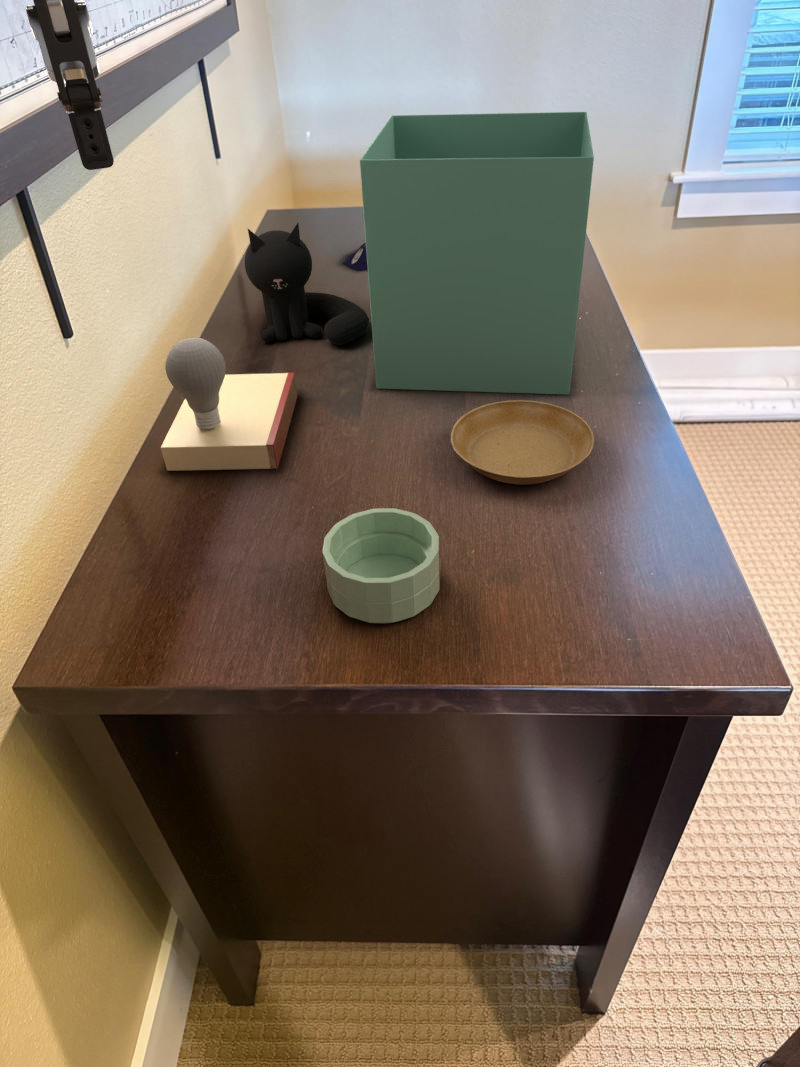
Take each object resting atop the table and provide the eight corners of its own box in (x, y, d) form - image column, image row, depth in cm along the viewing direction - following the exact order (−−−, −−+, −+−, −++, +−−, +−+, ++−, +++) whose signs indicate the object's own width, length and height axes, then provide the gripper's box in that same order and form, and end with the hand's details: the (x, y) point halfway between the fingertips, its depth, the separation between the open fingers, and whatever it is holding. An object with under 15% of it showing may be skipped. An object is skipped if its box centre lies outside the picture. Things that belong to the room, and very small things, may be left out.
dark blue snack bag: (332, 259, 131) (330, 235, 128) (402, 238, 137) (402, 215, 135) (363, 274, 125) (361, 249, 122) (435, 251, 131) (435, 227, 129)
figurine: (252, 358, 103) (231, 244, 94) (258, 315, 114) (240, 209, 104) (372, 348, 103) (363, 234, 94) (367, 307, 114) (358, 201, 105)
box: (566, 321, 107) (586, 111, 91) (569, 394, 92) (593, 157, 75) (401, 318, 111) (391, 115, 94) (376, 388, 95) (359, 159, 78)
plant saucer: (584, 506, 75) (587, 484, 73) (436, 487, 78) (435, 466, 77) (597, 427, 86) (599, 406, 84) (466, 414, 89) (466, 394, 88)
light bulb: (170, 435, 83) (146, 349, 76) (201, 408, 87) (181, 324, 81) (218, 445, 81) (197, 357, 74) (247, 417, 85) (230, 331, 79)
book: (277, 469, 82) (273, 444, 80) (167, 471, 83) (160, 447, 81) (297, 395, 95) (294, 372, 93) (201, 397, 95) (196, 374, 93)
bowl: (347, 640, 62) (342, 595, 59) (316, 567, 70) (309, 524, 66) (457, 608, 65) (457, 563, 62) (416, 540, 72) (414, 497, 69)
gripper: (-34, -114, 54) (44, 142, 64) (-52, -124, 43) (45, 184, 53) (78, -119, 55) (137, 130, 66) (87, -130, 45) (156, 169, 55)
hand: (96, 154), depth 59 cm, fingers open, 8 cm apart
